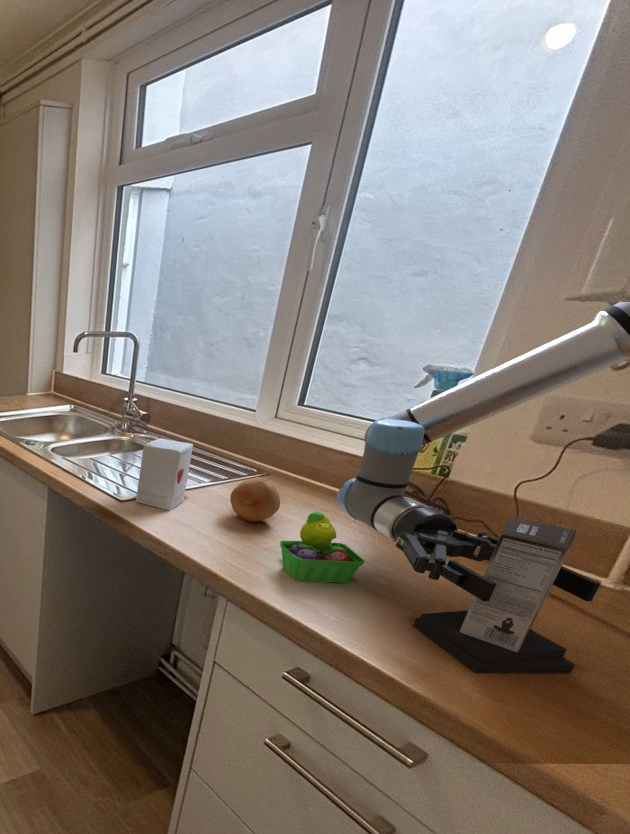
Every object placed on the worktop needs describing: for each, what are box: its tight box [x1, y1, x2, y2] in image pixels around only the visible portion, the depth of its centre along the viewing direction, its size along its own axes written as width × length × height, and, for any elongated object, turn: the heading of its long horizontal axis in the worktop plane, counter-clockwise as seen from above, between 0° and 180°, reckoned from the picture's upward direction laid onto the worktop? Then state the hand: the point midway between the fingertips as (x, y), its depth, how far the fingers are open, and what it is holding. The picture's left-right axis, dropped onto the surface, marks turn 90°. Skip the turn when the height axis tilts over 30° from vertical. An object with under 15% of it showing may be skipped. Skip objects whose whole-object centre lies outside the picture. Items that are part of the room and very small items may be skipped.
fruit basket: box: [279, 511, 366, 584], centre depth 96 cm, size 11×9×11 cm
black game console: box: [412, 610, 576, 674], centre depth 77 cm, size 13×11×3 cm
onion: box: [229, 476, 281, 523], centre depth 119 cm, size 10×10×10 cm
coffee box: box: [460, 516, 577, 652], centre depth 73 cm, size 9×6×16 cm
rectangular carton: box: [135, 437, 194, 512], centre depth 129 cm, size 9×9×15 cm
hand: (541, 592), depth 70 cm, fingers open, 13 cm apart
